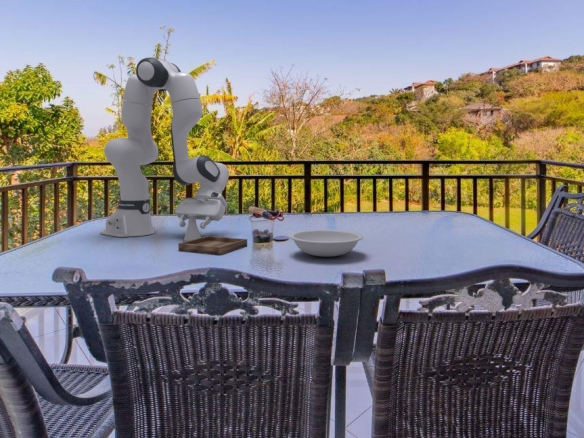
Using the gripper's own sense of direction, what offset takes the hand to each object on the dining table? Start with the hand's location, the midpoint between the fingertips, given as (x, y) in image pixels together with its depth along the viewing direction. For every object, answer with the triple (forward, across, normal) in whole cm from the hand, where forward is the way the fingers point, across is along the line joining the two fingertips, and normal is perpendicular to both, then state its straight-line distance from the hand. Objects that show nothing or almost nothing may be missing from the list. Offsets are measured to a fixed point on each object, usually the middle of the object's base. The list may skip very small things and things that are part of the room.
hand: (191, 226), depth 182 cm
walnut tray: (+10, +16, -2) cm, 18 cm away
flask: (+4, 0, +4) cm, 6 cm away
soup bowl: (+5, +55, +3) cm, 55 cm away
